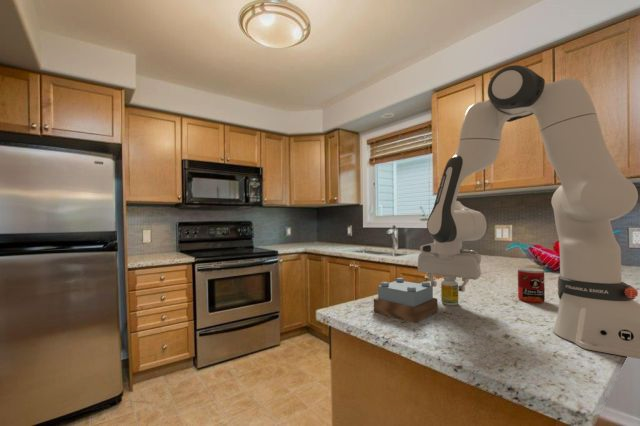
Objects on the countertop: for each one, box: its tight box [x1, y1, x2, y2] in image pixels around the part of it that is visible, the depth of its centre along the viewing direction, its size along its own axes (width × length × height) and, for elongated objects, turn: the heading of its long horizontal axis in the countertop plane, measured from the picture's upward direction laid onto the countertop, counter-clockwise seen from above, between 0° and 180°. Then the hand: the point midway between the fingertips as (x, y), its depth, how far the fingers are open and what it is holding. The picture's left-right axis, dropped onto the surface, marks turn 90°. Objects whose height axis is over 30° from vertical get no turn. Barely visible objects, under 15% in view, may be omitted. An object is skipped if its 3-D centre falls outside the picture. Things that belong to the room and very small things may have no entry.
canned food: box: [517, 267, 546, 304], centre depth 105 cm, size 8×8×11 cm
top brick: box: [377, 277, 434, 307], centre depth 93 cm, size 12×12×5 cm
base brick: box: [373, 297, 439, 324], centre depth 93 cm, size 14×14×4 cm
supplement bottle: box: [440, 275, 459, 306], centre depth 102 cm, size 5×5×10 cm
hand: (447, 288), depth 102 cm, fingers open, 8 cm apart
